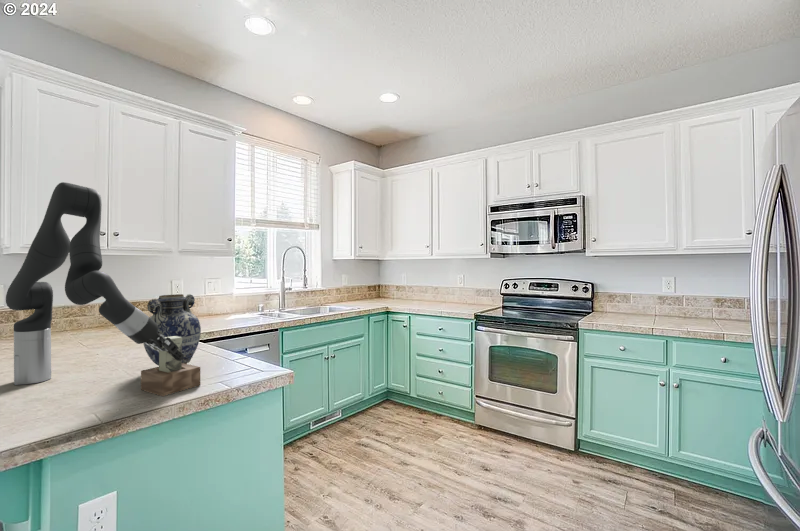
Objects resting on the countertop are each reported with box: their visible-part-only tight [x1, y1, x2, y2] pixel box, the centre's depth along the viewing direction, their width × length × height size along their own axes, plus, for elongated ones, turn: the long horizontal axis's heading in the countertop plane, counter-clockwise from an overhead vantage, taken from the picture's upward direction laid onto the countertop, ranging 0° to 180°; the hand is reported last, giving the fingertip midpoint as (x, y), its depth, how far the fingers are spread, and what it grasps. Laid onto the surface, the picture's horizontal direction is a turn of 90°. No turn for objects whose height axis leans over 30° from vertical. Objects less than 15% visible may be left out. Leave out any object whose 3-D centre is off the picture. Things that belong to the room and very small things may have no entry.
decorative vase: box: [142, 293, 202, 367], centre depth 145 cm, size 21×19×28 cm
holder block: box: [140, 363, 201, 397], centre depth 126 cm, size 12×12×6 cm
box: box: [158, 336, 182, 373], centre depth 126 cm, size 5×4×13 cm
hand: (176, 357), depth 128 cm, fingers closed on box, 4 cm apart
